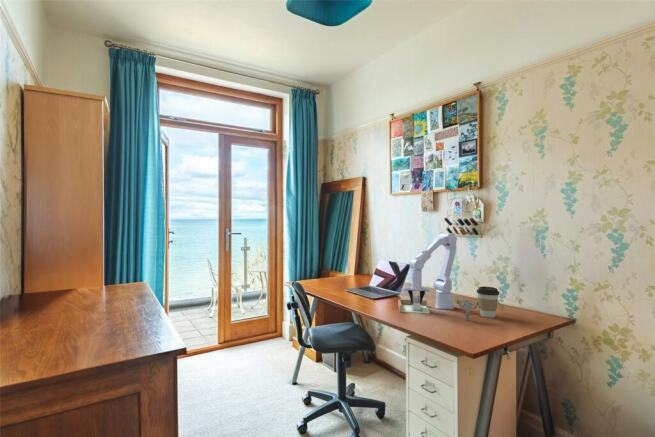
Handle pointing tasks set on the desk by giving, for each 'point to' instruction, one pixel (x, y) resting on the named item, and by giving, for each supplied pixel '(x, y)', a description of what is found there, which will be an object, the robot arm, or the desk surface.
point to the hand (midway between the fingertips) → (416, 303)
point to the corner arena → (407, 306)
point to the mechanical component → (467, 306)
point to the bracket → (416, 303)
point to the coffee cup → (488, 301)
